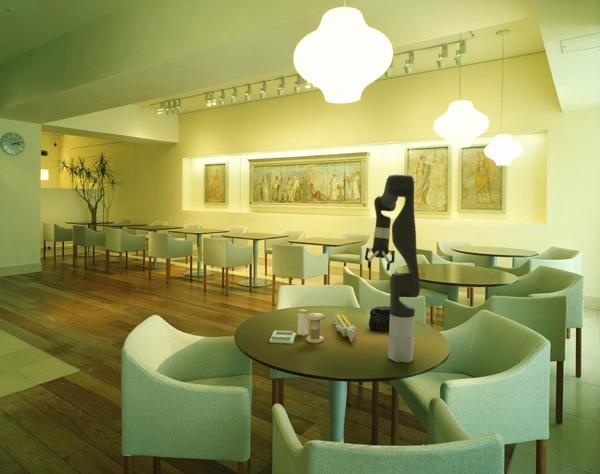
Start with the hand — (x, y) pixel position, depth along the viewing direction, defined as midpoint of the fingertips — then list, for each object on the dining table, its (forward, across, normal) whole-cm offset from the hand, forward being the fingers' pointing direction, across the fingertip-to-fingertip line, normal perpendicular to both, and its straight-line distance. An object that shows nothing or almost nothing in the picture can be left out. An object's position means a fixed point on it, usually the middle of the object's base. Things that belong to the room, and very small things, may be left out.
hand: (378, 270), depth 205 cm
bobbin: (+31, -25, -28) cm, 49 cm away
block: (+31, -31, -21) cm, 49 cm away
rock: (+28, +7, -2) cm, 29 cm away
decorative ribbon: (+30, -13, -14) cm, 36 cm away
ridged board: (+32, -39, -29) cm, 58 cm away
